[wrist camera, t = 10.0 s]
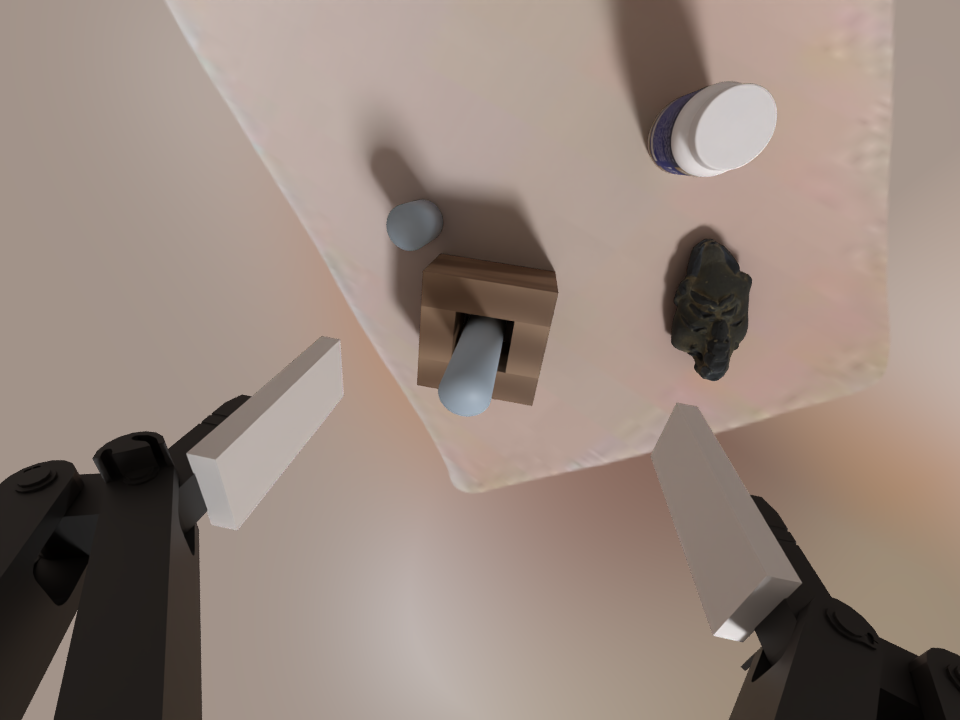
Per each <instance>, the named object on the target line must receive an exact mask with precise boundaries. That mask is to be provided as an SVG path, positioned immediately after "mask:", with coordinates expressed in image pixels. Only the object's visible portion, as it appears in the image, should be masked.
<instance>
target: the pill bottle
mask: <svg viewBox="0 0 960 720" xmlns="http://www.w3.org/2000/svg"><path fill="white" fill-rule="evenodd" d="M776 121H777V108H776V103H775V101H774V99H773V97H772V95H771V94H770V93H769V91H768V90H766V89H765V88H764V87H762V86H760V85H757V84H752V83H739V82H734V81H727V82H721V83H716V84H713V85H710V86H708V87H705V88H703V89H700V90H698V91H695V92H693V93H690V94H687V95H685V96H682V97H680V98H678V99H676V100H674V101H672V102H671V103H670V104H668V105H667V106H666V107H665V108H664V109H663V110H662V111H661V112H660V113H659V114H658V116H657V117H656V119H655V120H654V122H653V124H652V127H651V129H650V132H649V137H648V150H649V154H650V157H651V159H652V161H653V162H654V164H655V165H656V166H657V167H658V168H659V169H661V170H663V171H665V172H668V173H672V174H678V175H687V176H696V177H710V176H715V175H719V174H722V173H724V172H726V171H728V170H732V169H736V168H739V167H741V166H743V165H745V164H747V163H748V162H750V161H751V160H753V159H754V158H755V157H756V156H758V155H759V154H760V153H761V151H762V150H763V149H764V148H765V147H766V145H767V144H768V142H769V140H770V139H771V137H772V135H773V132H774V129H775V126H776Z"/></svg>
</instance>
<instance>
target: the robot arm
mask: <svg viewBox="0 0 960 720" xmlns="http://www.w3.org/2000/svg"><path fill="white" fill-rule="evenodd" d="M343 396H344V391H343V376H342V360H341V344H340V339H335V338H330V337H324V336H321V337H320V338H319V339H318V340H317V341H315V342H314V343H313V344H312V345H311V346H310V347H308V348H307V349H306V350H305V351H304V352H303V353H301V354H300V355H299V356H298V357H297V358H296V359H295V360H293V361H292V362H291V363H290V364H289V365H288V366H286V367H285V368H284V369H283V370H282V371H281V372H280V373H278V374H277V375H276V376H275V377H274V378H273V379H272V380H270V381H269V382H268V383H267V384H266V385H264V386H263V387H262V388H261V389H260V390H259V391H258V392H256V393H255V394H254V395H253V396H247V395H240V396H238V397H237V398H234V399H232V400H230V401H227V402H226V403H224V404H223V405H222V406H220V407H219V408H218V409H217V410H215V411H214V412H213V413H212V415H209V416H208V417H207V418H206V419H204V420H203V421H202V423H201V424H198V425H197V426H196V427H195V428H193V429H192V430H191V431H190V432H188V433H187V434H186V435H185V436H183V437H182V438H181V439H180V440H178V441H177V442H176V443H175V444H174V445H172V446H171V447H170V448H169V449H168V448H167V446H166V443H165V441H164V438H163V436H161V435H160V434H158V433H155V432H146V431H145V432H136V433H131V434H128V435H124V436H121V437H118V438H116V439H114V440H112V441H111V442H108V443H106V444H105V445H104V446H103V447H101V448H100V449H99V450H98V451H97V452H96V454H95V455H94V457H93V461H94V463H95V464H96V466H97V468H98V470H99V472H100V474H82V475H79V473H78V472H77V470H76V468H75V466H74V465H73V463H70V462H67V461H64V460H56V461H55V460H52V461H48V462H42V463H38V464H35V465H32V466H29V467H27V468H24V469H22V470H20V471H18V472H17V473H15V474H13V475H11V476H9V477H8V478H7V479H5V480H4V481H3V482H2V483H1V484H0V720H21V719H22V717H23V715H24V714H25V712H26V710H27V708H28V706H29V704H30V702H31V700H32V698H33V696H34V694H35V692H36V690H37V688H38V686H39V684H40V682H41V680H42V678H43V676H44V674H45V672H46V670H47V668H48V666H49V664H50V663H51V661H52V658H53V656H54V655H55V653H56V651H57V649H58V647H59V645H60V643H61V641H62V639H63V637H64V635H65V633H66V631H67V629H68V627H69V625H70V623H71V621H72V619H73V617H74V616H75V614H76V612H77V616H76V620H75V625H74V629H73V634H72V638H71V643H70V648H69V652H68V657H67V661H66V666H65V670H64V675H63V679H62V684H61V688H60V693H59V698H58V702H57V707H56V711H55V716H54V720H202V695H201V694H202V691H201V638H200V637H201V631H200V571H199V529H198V526H197V521H198V520H199V519H200V518H201V517H202V516H203V515H204V514H205V513H206V512H207V513H208V516H209V519H210V522H211V524H212V525H215V526H219V527H224V528H228V529H233V530H238V529H239V528H240V526H241V525H242V524H243V523H244V521H245V520H246V519H247V518H248V516H249V515H250V514H251V513H252V511H253V510H254V509H255V507H256V506H257V505H258V504H259V502H260V501H261V500H262V499H263V497H264V496H265V495H266V494H267V492H268V491H269V490H270V489H271V487H272V486H273V485H274V483H275V482H276V481H277V480H278V478H279V477H280V476H281V475H282V473H283V472H284V471H285V470H286V468H287V467H288V466H289V464H290V463H291V462H292V461H293V459H294V458H295V457H296V455H297V454H298V453H299V452H300V451H301V449H302V448H303V447H304V445H305V444H306V443H307V442H308V440H309V439H310V438H311V437H312V435H313V434H314V433H315V432H316V430H317V429H318V428H319V427H320V425H321V424H322V423H323V421H324V420H325V419H326V418H327V416H328V415H329V414H330V413H331V411H332V410H333V409H334V407H335V406H336V405H337V404H338V403H339V401H340V400H341V399H342V397H343ZM651 458H652V462H653V465H654V468H655V470H656V473H657V476H658V479H659V482H660V485H661V488H662V491H663V493H664V496H665V499H666V502H667V505H668V508H669V511H670V513H671V516H672V519H673V522H674V525H675V527H676V531H677V534H678V536H679V539H680V542H681V545H682V548H683V551H684V554H685V557H686V560H687V562H688V565H689V568H690V571H691V574H692V576H693V580H694V583H695V585H696V588H697V591H698V594H699V597H700V600H701V602H702V606H703V608H704V611H705V614H706V617H707V620H708V623H709V626H710V629H711V631H712V634H713V636H717V637H722V638H726V639H731V640H735V641H740V642H744V641H745V640H746V639H747V638H748V637H749V636H750V635H751V634H752V633H753V631H755V632H756V634H757V636H758V638H759V641H760V643H761V645H762V647H761V648H760V649H759V650H758V651H757V652H756V653H754V654H753V655H752V656H751V657H750V658H749V659H748V660H747V661H746V662H745V663H744V664H743V665H742V666H741V667H742V668H743V669H744V670H747V669H748V668H749V667H750V668H749V671H748V673H747V676H746V678H745V681H744V683H743V686H742V688H741V691H740V693H739V696H738V698H737V701H736V703H735V706H734V708H733V711H732V713H731V716H730V718H729V720H960V656H959V655H957V654H955V653H952V652H950V651H947V650H945V649H941V648H931V649H929V650H928V651H926V652H925V653H923V654H922V655H920V656H917V655H915V654H913V653H911V652H909V651H907V650H905V649H903V648H901V647H899V646H896V645H894V644H892V643H890V642H888V641H886V640H884V639H882V638H880V637H878V635H877V633H876V631H875V630H874V629H873V627H872V626H871V625H870V624H869V623H868V622H867V621H866V620H865V619H864V618H863V617H862V616H861V615H860V614H859V613H857V612H856V611H855V610H853V609H852V608H851V607H850V606H848V605H846V604H845V603H843V602H841V601H839V600H838V599H835V598H832V597H831V596H830V594H829V593H828V591H827V590H826V588H825V586H824V585H823V583H822V582H821V580H820V578H819V577H818V575H817V574H816V572H815V571H814V569H813V568H812V566H811V564H810V563H809V561H808V560H807V558H806V557H805V555H804V554H803V552H802V550H801V549H800V548H799V546H798V545H796V541H795V539H794V538H793V536H792V535H791V533H790V532H788V531H787V527H786V525H785V524H784V522H783V521H782V519H781V518H780V516H779V515H778V513H777V512H776V511H775V510H774V509H773V508H772V507H771V506H770V505H769V504H768V503H767V502H766V501H765V500H764V499H763V498H762V497H759V496H754V495H750V494H749V493H748V491H747V489H746V487H745V486H744V484H743V483H742V481H741V479H740V477H739V476H738V474H737V472H736V471H735V469H734V468H733V466H732V464H731V462H730V461H729V459H728V457H727V455H726V454H725V452H724V451H723V449H722V447H721V445H720V444H719V442H718V440H717V439H716V437H715V435H714V434H713V432H712V430H711V428H710V427H709V425H708V423H707V422H706V420H705V418H704V417H703V415H702V413H701V412H700V410H699V408H698V407H697V406H692V405H687V404H681V403H676V405H675V407H674V409H673V411H672V413H671V415H670V417H669V419H668V421H667V423H666V425H665V428H664V430H663V432H662V434H661V436H660V438H659V440H658V442H657V444H656V446H655V448H654V450H653V452H652V454H651ZM77 610H78V611H77Z"/></svg>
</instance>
